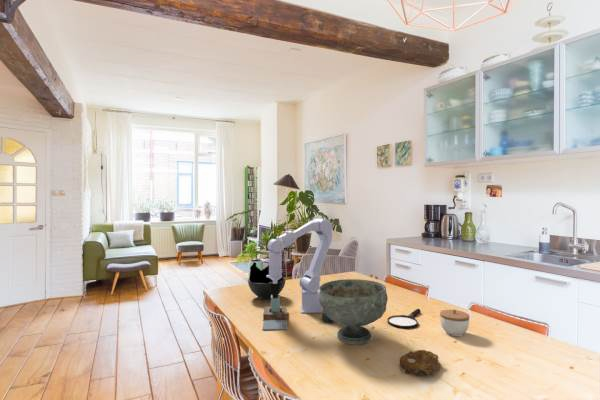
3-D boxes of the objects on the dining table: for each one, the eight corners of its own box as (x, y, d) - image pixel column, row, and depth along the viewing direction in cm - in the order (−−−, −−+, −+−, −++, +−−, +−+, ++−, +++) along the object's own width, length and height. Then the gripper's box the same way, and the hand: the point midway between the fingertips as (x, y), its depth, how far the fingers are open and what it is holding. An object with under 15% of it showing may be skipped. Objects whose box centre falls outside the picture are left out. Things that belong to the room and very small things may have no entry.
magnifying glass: (431, 316, 161) (431, 311, 161) (410, 333, 142) (410, 327, 142) (405, 310, 169) (405, 305, 169) (382, 325, 150) (382, 320, 150)
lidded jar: (467, 330, 143) (467, 307, 143) (471, 340, 133) (471, 315, 133) (439, 326, 147) (439, 304, 147) (440, 336, 137) (440, 312, 137)
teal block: (279, 314, 163) (279, 294, 163) (279, 317, 159) (279, 297, 159) (271, 314, 162) (271, 295, 162) (270, 317, 158) (270, 297, 158)
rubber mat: (286, 321, 154) (286, 319, 154) (287, 329, 144) (287, 328, 144) (263, 321, 153) (263, 320, 153) (262, 330, 143) (262, 329, 143)
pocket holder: (286, 311, 166) (286, 306, 166) (287, 319, 156) (287, 313, 156) (264, 312, 166) (264, 306, 165) (263, 320, 155) (263, 314, 155)
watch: (331, 324, 149) (331, 298, 149) (319, 319, 156) (319, 294, 156) (341, 321, 153) (341, 296, 153) (329, 316, 159) (329, 292, 159)
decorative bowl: (343, 359, 118) (343, 299, 118) (306, 332, 141) (306, 282, 141) (402, 343, 130) (402, 289, 130) (360, 321, 153) (360, 275, 153)
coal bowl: (292, 296, 192) (292, 261, 192) (270, 305, 175) (270, 268, 175) (263, 290, 203) (263, 258, 202) (240, 299, 186) (239, 263, 185)
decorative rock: (412, 355, 122) (394, 374, 111) (411, 343, 122) (393, 361, 111) (446, 363, 115) (431, 384, 103) (446, 350, 115) (430, 370, 103)
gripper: (267, 262, 167) (267, 291, 167) (265, 269, 153) (265, 300, 153) (282, 262, 168) (282, 291, 168) (282, 269, 153) (282, 300, 153)
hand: (275, 295), depth 160 cm, fingers open, 7 cm apart
